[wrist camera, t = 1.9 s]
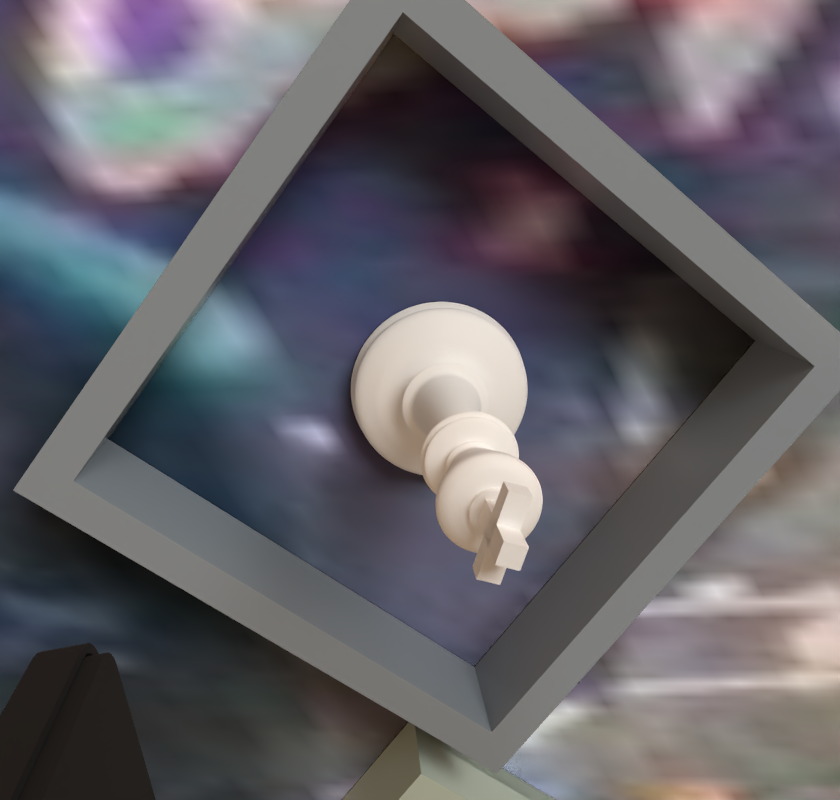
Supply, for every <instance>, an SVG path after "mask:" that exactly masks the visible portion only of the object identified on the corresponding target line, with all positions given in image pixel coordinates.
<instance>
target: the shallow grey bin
mask: <svg viewBox="0 0 840 800" xmlns="http://www.w3.org/2000/svg"><path fill="white" fill-rule="evenodd" d="M393 34H394V35H395V36H397V37H398V38H399V39H400V40H401V41H403V42H404V43H405V44H406V45H407V46H408V47H410V48H411V49H412V50H413V51H414V52H415V53H417V54H418V55H419V56H420V57H421V58H423V59H424V60H425V61H426V62H427V63H428V64H430V65H431V66H432V67H433V68H434V69H436V70H437V71H438V72H439V73H440V74H441V75H443V76H444V77H445V78H446V79H447V80H448V81H450V82H451V83H452V84H453V85H454V86H456V87H457V88H458V89H459V90H460V91H461V92H463V93H464V94H465V95H466V96H467V97H469V98H470V99H471V100H472V101H473V102H474V103H476V104H477V105H478V106H479V107H480V108H481V109H483V110H484V111H485V112H486V113H487V114H489V115H490V116H491V117H492V118H493V119H494V120H496V121H497V122H498V123H499V124H500V125H502V126H503V127H504V128H505V129H506V130H507V131H509V132H510V133H511V134H512V135H513V136H514V137H516V138H517V139H518V140H519V141H520V142H522V143H523V144H524V145H525V146H526V147H527V148H529V149H530V150H531V151H532V152H533V153H534V154H536V155H537V156H538V157H539V158H540V159H542V160H543V161H544V162H545V163H546V164H547V165H549V166H550V167H551V168H552V169H553V170H555V171H556V172H557V173H558V174H559V175H560V176H562V177H563V178H564V179H565V180H566V181H567V182H569V183H570V184H571V185H572V186H573V187H575V188H576V189H577V190H578V191H579V192H580V193H582V194H583V195H584V196H585V197H586V198H588V199H589V200H590V201H591V202H592V203H593V204H595V205H596V206H597V207H598V208H599V209H600V210H602V211H603V212H604V213H605V214H606V215H608V216H609V217H610V218H611V219H612V220H613V221H615V222H616V223H617V224H618V225H619V226H621V227H622V228H623V229H624V230H625V231H626V232H628V233H629V234H630V235H631V236H632V237H633V238H635V239H636V240H637V241H638V242H639V243H641V244H642V245H643V246H644V247H645V248H646V249H648V250H649V251H650V252H651V253H652V254H654V255H655V256H656V257H657V258H658V259H659V260H661V261H662V262H663V263H664V264H665V265H666V266H668V267H669V268H670V269H671V270H672V271H674V272H675V273H676V274H677V275H678V276H679V277H681V278H682V279H683V280H684V281H685V282H687V283H688V284H689V285H690V286H691V287H692V288H694V289H695V290H696V291H697V292H698V293H699V294H701V295H702V296H703V297H704V298H705V299H707V300H708V301H709V302H710V303H711V304H712V305H714V306H715V307H716V308H717V309H718V310H719V311H721V312H722V313H723V314H724V315H725V316H727V317H728V318H729V319H730V320H731V321H732V322H734V323H735V324H736V325H737V326H738V327H740V328H741V329H742V330H743V331H744V332H745V333H747V334H748V335H749V336H750V337H751V338H752V339H754V340H755V342H754V343H753V344H752V345H751V346H750V348H749V349H748V350H747V351H746V352H745V353H744V355H743V356H742V357H741V358H740V359H739V360H738V362H737V363H736V364H735V365H734V366H733V367H732V369H731V370H730V371H729V372H728V373H727V374H726V375H725V377H724V378H723V379H722V380H721V381H720V382H719V384H718V385H717V386H716V387H715V388H714V389H713V391H712V392H711V393H710V394H709V395H708V396H707V398H706V399H705V400H704V401H703V402H702V403H701V405H700V406H699V407H698V408H697V409H696V410H695V412H694V413H693V414H692V415H691V416H690V417H689V418H688V420H687V421H686V422H685V423H684V424H683V425H682V427H681V428H680V429H679V430H678V431H677V432H676V434H675V435H674V436H673V437H672V438H671V439H670V441H669V442H668V443H667V444H666V445H665V446H664V448H663V449H662V450H661V451H660V452H659V453H658V454H657V456H656V457H655V458H654V459H653V460H652V461H651V463H650V464H649V465H648V466H647V467H646V468H645V470H644V471H643V472H642V473H641V474H640V475H639V477H638V478H637V479H636V480H635V481H634V482H633V484H632V485H631V486H630V487H629V488H628V489H627V491H626V492H625V493H624V494H623V495H622V496H621V497H620V499H619V500H618V501H617V502H616V503H615V504H614V506H613V507H612V508H611V509H610V510H609V511H608V513H607V514H606V515H605V516H604V517H603V518H602V520H601V521H600V522H599V523H598V524H597V525H596V527H595V528H594V529H593V530H592V531H591V532H590V534H589V535H588V536H587V537H586V538H585V539H584V540H583V542H582V543H581V544H580V545H579V546H578V547H577V549H576V550H575V551H574V552H573V553H572V554H571V556H570V557H569V558H568V559H567V560H566V561H565V563H564V564H563V565H562V566H561V567H560V568H559V570H558V571H557V572H556V573H555V574H554V575H553V577H552V578H551V579H550V580H549V581H548V582H547V583H546V585H545V586H544V587H543V588H542V589H541V590H540V592H539V593H538V594H537V595H536V596H535V597H534V599H533V600H532V601H531V602H530V603H529V604H528V606H527V607H526V608H525V609H524V610H523V611H522V613H521V614H520V615H519V616H518V617H517V618H516V619H515V621H514V622H513V623H512V624H511V625H510V626H509V628H508V629H507V630H506V631H505V632H504V633H503V635H502V636H501V637H500V638H499V639H498V640H497V642H496V643H495V644H494V645H493V646H492V647H491V649H490V650H489V651H488V652H487V653H486V654H485V656H484V657H483V658H482V659H481V660H480V661H479V662H478V664H477V665H476V666H475V667H473V666H472V665H470V664H468V663H467V662H465V661H464V660H462V659H460V658H459V657H457V656H456V655H454V654H452V653H451V652H449V651H448V650H446V649H444V648H443V647H441V646H440V645H438V644H436V643H435V642H433V641H432V640H430V639H428V638H427V637H425V636H424V635H422V634H420V633H419V632H417V631H415V630H414V629H412V628H411V627H409V626H407V625H406V624H404V623H403V622H401V621H399V620H398V619H396V618H395V617H393V616H391V615H390V614H388V613H387V612H385V611H383V610H382V609H380V608H379V607H377V606H375V605H374V604H372V603H370V602H369V601H367V600H366V599H364V598H362V597H361V596H359V595H358V594H356V593H354V592H353V591H351V590H350V589H348V588H346V587H345V586H343V585H342V584H340V583H338V582H337V581H335V580H334V579H332V578H330V577H329V576H327V575H325V574H324V573H322V572H321V571H319V570H317V569H316V568H314V567H313V566H311V565H309V564H308V563H306V562H305V561H303V560H301V559H300V558H298V557H297V556H295V555H293V554H292V553H290V552H289V551H287V550H285V549H284V548H282V547H280V546H279V545H277V544H276V543H274V542H272V541H271V540H269V539H268V538H266V537H264V536H263V535H261V534H260V533H258V532H256V531H255V530H253V529H252V528H250V527H248V526H247V525H245V524H244V523H242V522H240V521H239V520H237V519H236V518H234V517H232V516H231V515H229V514H227V513H226V512H224V511H223V510H221V509H219V508H218V507H216V506H215V505H213V504H211V503H210V502H208V501H207V500H205V499H203V498H202V497H200V496H199V495H197V494H195V493H194V492H192V491H191V490H189V489H187V488H186V487H184V486H182V485H181V484H179V483H178V482H176V481H174V480H173V479H171V478H170V477H168V476H166V475H165V474H163V473H162V472H160V471H158V470H157V469H155V468H154V467H152V466H150V465H149V464H147V463H146V462H144V461H142V460H141V459H139V458H137V457H136V456H134V455H133V454H131V453H129V452H128V451H126V450H125V449H123V448H121V447H120V446H118V445H117V444H115V443H113V442H112V441H110V440H109V437H110V436H111V435H112V433H113V432H114V430H115V429H116V427H117V426H118V425H119V423H120V422H121V420H122V419H123V418H124V416H125V415H126V413H127V412H128V410H129V409H130V408H131V406H132V405H133V403H134V402H135V400H136V399H137V398H138V396H139V395H140V393H141V392H142V391H143V389H144V388H145V386H146V385H147V383H148V382H149V381H150V379H151V378H152V376H153V375H154V374H155V372H156V371H157V369H158V368H159V366H160V365H161V364H162V362H163V361H164V359H165V358H166V356H167V355H168V354H169V352H170V351H171V349H172V348H173V347H174V345H175V344H176V342H177V341H178V339H179V338H180V337H181V335H182V334H183V332H184V331H185V330H186V328H187V327H188V325H189V324H190V322H191V321H192V320H193V318H194V317H195V315H196V314H197V312H198V311H199V310H200V308H201V307H202V305H203V304H204V303H205V301H206V300H207V298H208V297H209V295H210V294H211V293H212V291H213V290H214V288H215V287H216V286H217V284H218V283H219V281H220V280H221V278H222V277H223V276H224V274H225V273H226V271H227V270H228V268H229V267H230V266H231V264H232V263H233V261H234V260H235V259H236V257H237V256H238V254H239V253H240V251H241V250H242V249H243V247H244V246H245V244H246V243H247V242H248V240H249V239H250V237H251V236H252V234H253V233H254V232H255V230H256V229H257V227H258V226H259V224H260V223H261V222H262V220H263V219H264V217H265V216H266V215H267V213H268V212H269V210H270V209H271V207H272V206H273V205H274V203H275V202H276V200H277V199H278V198H279V196H280V195H281V193H282V192H283V190H284V189H285V188H286V186H287V185H288V183H289V182H290V180H291V179H292V178H293V176H294V175H295V173H296V172H297V171H298V169H299V168H300V166H301V165H302V163H303V162H304V161H305V159H306V158H307V156H308V155H309V154H310V152H311V151H312V149H313V148H314V146H315V145H316V144H317V142H318V141H319V139H320V138H321V136H322V135H323V134H324V132H325V131H326V129H327V128H328V127H329V125H330V124H331V122H332V121H333V119H334V118H335V117H336V115H337V114H338V112H339V111H340V109H341V108H342V107H343V105H344V104H345V102H346V101H347V100H348V98H349V97H350V95H351V94H352V92H353V91H354V90H355V88H356V87H357V85H358V84H359V83H360V81H361V80H362V78H363V77H364V75H365V74H366V73H367V71H368V70H369V68H370V67H371V65H372V64H373V63H374V61H375V60H376V58H377V57H378V56H379V54H380V53H381V51H382V50H383V48H384V47H385V46H386V44H387V43H388V41H389V40H390V39H391V37H392V36H393ZM839 391H840V332H839V331H838V330H836V329H835V328H834V327H833V326H832V325H831V324H830V323H829V322H827V321H826V320H825V319H824V318H823V317H822V316H821V315H820V314H818V313H817V312H816V311H815V310H814V309H813V308H812V307H810V306H809V305H808V304H807V303H806V302H805V301H804V300H803V299H801V298H800V297H799V296H798V295H797V294H796V293H795V292H794V291H792V290H791V289H790V288H789V287H788V286H787V285H786V284H785V283H783V282H782V281H781V280H780V279H779V278H778V277H777V276H776V275H774V274H773V273H772V272H771V271H770V270H769V269H768V268H766V267H765V266H764V265H763V264H762V263H761V262H760V261H759V260H757V259H756V258H755V257H754V256H753V255H752V254H751V253H750V252H748V251H747V250H746V249H745V248H744V247H743V246H742V245H741V244H739V243H738V242H737V241H736V240H735V239H734V238H733V237H732V236H730V235H729V234H728V233H727V232H726V231H725V230H724V229H722V228H721V227H720V226H719V225H718V224H717V223H716V222H715V221H713V220H712V219H711V218H710V217H709V216H708V215H707V214H706V213H704V212H703V211H702V210H701V209H700V208H699V207H698V206H697V205H695V204H694V203H693V202H692V201H691V200H690V199H689V198H688V197H686V196H685V195H684V194H683V193H682V192H681V191H680V190H678V189H677V188H676V187H675V186H674V185H673V184H672V183H671V182H669V181H668V180H667V179H666V178H665V177H664V176H663V175H662V174H660V173H659V172H658V171H657V170H656V169H655V168H654V167H653V166H651V165H650V164H649V163H648V162H647V161H646V160H645V159H643V158H642V157H641V156H640V155H639V154H638V153H637V152H636V151H634V150H633V149H632V148H631V147H630V146H629V145H628V144H627V143H625V142H624V141H623V140H622V139H621V138H620V137H619V136H618V135H616V134H615V133H614V132H613V131H612V130H611V129H610V128H609V127H607V126H606V125H605V124H604V123H603V122H602V121H601V120H599V119H598V118H597V117H596V116H595V115H594V114H593V113H592V112H590V111H589V110H588V109H587V108H586V107H585V106H584V105H583V104H581V103H580V102H579V101H578V100H577V99H576V98H575V97H574V96H572V95H571V94H570V93H569V92H568V91H567V90H566V89H565V88H563V87H562V86H561V85H560V84H559V83H558V82H557V81H555V80H554V79H553V78H552V77H551V76H550V75H549V74H548V73H546V72H545V71H544V70H543V69H542V68H541V67H540V66H539V65H537V64H536V63H535V62H534V61H533V60H532V59H531V58H530V57H528V56H527V55H526V54H525V53H524V52H523V51H522V50H521V49H519V48H518V47H517V46H516V45H515V44H514V43H513V42H511V41H510V40H509V39H508V38H507V37H506V36H505V35H504V34H502V33H501V32H500V31H499V30H498V29H497V28H496V27H495V26H493V25H492V24H491V23H490V22H489V21H488V20H487V19H486V18H484V17H483V16H482V15H481V14H480V13H479V12H478V11H477V10H475V9H474V8H473V7H472V6H471V5H470V4H469V3H467V2H466V1H465V0H350V1H349V3H348V4H347V5H346V7H345V8H344V10H343V11H342V13H341V14H340V16H339V17H338V19H337V20H336V21H335V23H334V24H333V26H332V27H331V29H330V30H329V32H328V33H327V35H326V36H325V37H324V39H323V40H322V42H321V43H320V45H319V46H318V48H317V49H316V51H315V52H314V53H313V55H312V56H311V58H310V59H309V61H308V62H307V64H306V65H305V67H304V68H303V69H302V71H301V72H300V74H299V75H298V77H297V78H296V80H295V81H294V83H293V84H292V85H291V87H290V88H289V90H288V91H287V93H286V94H285V96H284V97H283V99H282V100H281V101H280V103H279V104H278V106H277V107H276V109H275V110H274V112H273V113H272V115H271V116H270V117H269V119H268V120H267V122H266V123H265V125H264V126H263V128H262V129H261V131H260V132H259V133H258V135H257V136H256V138H255V139H254V141H253V142H252V144H251V145H250V147H249V148H248V149H247V151H246V152H245V154H244V155H243V157H242V158H241V160H240V161H239V162H238V164H237V165H236V167H235V168H234V170H233V171H232V173H231V174H230V176H229V177H228V178H227V180H226V181H225V183H224V184H223V186H222V187H221V189H220V190H219V192H218V193H217V194H216V196H215V197H214V199H213V200H212V202H211V203H210V205H209V206H208V208H207V209H206V210H205V212H204V213H203V215H202V216H201V218H200V219H199V221H198V222H197V224H196V225H195V226H194V228H193V229H192V231H191V232H190V234H189V235H188V237H187V238H186V240H185V241H184V242H183V244H182V245H181V247H180V248H179V250H178V251H177V253H176V254H175V256H174V257H173V258H172V260H171V261H170V263H169V264H168V266H167V267H166V269H165V270H164V272H163V273H162V274H161V276H160V277H159V279H158V280H157V282H156V283H155V285H154V286H153V288H152V289H151V290H150V292H149V293H148V295H147V296H146V298H145V299H144V301H143V302H142V304H141V305H140V306H139V308H138V309H137V311H136V312H135V314H134V315H133V317H132V318H131V320H130V321H129V322H128V324H127V325H126V327H125V328H124V330H123V331H122V333H121V334H120V336H119V337H118V338H117V340H116V341H115V343H114V344H113V346H112V347H111V349H110V350H109V352H108V353H107V354H106V356H105V357H104V359H103V360H102V362H101V363H100V365H99V366H98V368H97V369H96V370H95V372H94V373H93V375H92V376H91V378H90V379H89V381H88V382H87V383H86V385H85V386H84V388H83V389H82V391H81V392H80V394H79V395H78V397H77V398H76V399H75V401H74V402H73V404H72V405H71V407H70V408H69V410H68V411H67V413H66V414H65V415H64V417H63V418H62V420H61V421H60V423H59V424H58V426H57V427H56V429H55V430H54V431H53V433H52V434H51V436H50V437H49V439H48V440H47V442H46V443H45V445H44V446H43V447H42V449H41V450H40V452H39V453H38V455H37V456H36V458H35V459H34V461H33V462H32V463H31V465H30V466H29V468H28V469H27V471H26V472H25V474H24V475H23V477H22V478H21V479H20V481H19V482H18V484H17V485H16V487H15V488H14V490H13V491H15V492H17V493H19V494H20V495H22V496H24V497H25V498H27V499H29V500H30V501H32V502H34V503H36V504H37V505H39V506H41V507H42V508H44V509H46V510H48V511H49V512H51V513H53V514H54V515H56V516H58V517H60V518H61V519H63V520H65V521H66V522H68V523H70V524H72V525H73V526H75V527H77V528H78V529H80V530H82V531H83V532H85V533H87V534H89V535H90V536H92V537H94V538H95V539H97V540H99V541H101V542H102V543H104V544H106V545H107V546H109V547H111V548H113V549H114V550H116V551H118V552H119V553H121V554H123V555H125V556H126V557H128V558H130V559H131V560H133V561H135V562H136V563H138V564H140V565H142V566H143V567H145V568H147V569H148V570H150V571H152V572H154V573H155V574H157V575H159V576H160V577H162V578H164V579H166V580H167V581H169V582H171V583H172V584H174V585H176V586H177V587H179V588H181V589H183V590H184V591H186V592H188V593H189V594H191V595H193V596H195V597H196V598H198V599H200V600H201V601H203V602H205V603H207V604H208V605H210V606H212V607H213V608H215V609H217V610H219V611H220V612H222V613H224V614H225V615H227V616H229V617H230V618H232V619H234V620H236V621H237V622H239V623H241V624H242V625H244V626H246V627H248V628H249V629H251V630H253V631H254V632H256V633H258V634H260V635H261V636H263V637H265V638H266V639H268V640H270V641H271V642H273V643H275V644H277V645H278V646H280V647H282V648H283V649H285V650H287V651H289V652H290V653H292V654H294V655H295V656H297V657H299V658H301V659H302V660H304V661H306V662H307V663H309V664H311V665H313V666H314V667H316V668H318V669H319V670H321V671H323V672H324V673H326V674H328V675H330V676H331V677H333V678H335V679H336V680H338V681H340V682H342V683H343V684H345V685H347V686H348V687H350V688H352V689H354V690H355V691H357V692H359V693H360V694H362V695H364V696H366V697H367V698H369V699H371V700H372V701H374V702H376V703H377V704H379V705H381V706H383V707H384V708H386V709H388V710H389V711H391V712H393V713H395V714H396V715H398V716H400V717H401V718H403V719H405V720H407V721H408V722H410V723H412V724H413V725H415V726H417V727H418V728H420V729H422V730H424V731H425V732H427V733H429V734H430V735H432V736H434V737H436V738H437V739H439V740H441V741H442V742H444V743H446V744H448V745H449V746H451V747H453V748H454V749H456V750H458V751H460V752H461V753H463V754H465V755H466V756H468V757H470V758H471V759H473V760H475V761H477V762H478V763H480V764H482V765H483V766H485V767H487V768H489V769H490V770H492V771H494V772H495V773H498V772H499V770H500V769H501V768H502V767H503V766H504V765H505V764H506V763H507V761H508V760H509V759H510V758H511V757H512V756H513V755H514V754H515V753H516V751H517V750H518V749H519V748H520V747H521V746H522V745H523V744H524V742H525V741H526V740H527V739H528V738H529V737H530V736H531V735H532V734H533V732H534V731H535V730H536V729H537V728H538V727H539V726H540V725H541V723H542V722H543V721H544V720H545V719H546V718H547V717H548V716H549V715H550V713H551V712H552V711H553V710H554V709H555V708H556V707H557V706H558V705H559V703H560V702H561V701H562V700H563V699H564V698H565V697H566V696H567V694H568V693H569V692H570V691H571V690H572V689H573V688H574V687H575V686H576V684H577V683H578V682H579V681H580V680H581V679H582V678H583V677H584V675H585V674H586V673H587V672H588V671H589V670H590V669H591V668H592V667H593V665H594V664H595V663H596V662H597V661H598V660H599V659H600V658H601V656H602V655H603V654H604V653H605V652H606V651H607V650H608V649H609V648H610V646H611V645H612V644H613V643H614V642H615V641H616V640H617V639H618V638H619V636H620V635H621V634H622V633H623V632H624V631H625V630H626V629H627V627H628V626H629V625H630V624H631V623H632V622H633V621H634V620H635V619H636V617H637V616H638V615H639V614H640V613H641V612H642V611H643V610H644V608H645V607H646V606H647V605H648V604H649V603H650V602H651V601H652V600H653V598H654V597H655V596H656V595H657V594H658V593H659V592H660V591H661V589H662V588H663V587H664V586H665V585H666V584H667V583H668V582H669V581H670V579H671V578H672V577H673V576H674V575H675V574H676V573H677V572H678V571H679V569H680V568H681V567H682V566H683V565H684V564H685V563H686V562H687V560H688V559H689V558H690V557H691V556H692V555H693V554H694V553H695V552H696V550H697V549H698V548H699V547H700V546H701V545H702V544H703V543H704V541H705V540H706V539H707V538H708V537H709V536H710V535H711V534H712V533H713V531H714V530H715V529H716V528H717V527H718V526H719V525H720V524H721V522H722V521H723V520H724V519H725V518H726V517H727V516H728V515H729V514H730V512H731V511H732V510H733V509H734V508H735V507H736V506H737V505H738V503H739V502H740V501H741V500H742V499H743V498H744V497H745V496H746V495H747V493H748V492H749V491H750V490H751V489H752V488H753V487H754V486H755V485H756V483H757V482H758V481H759V480H760V479H761V478H762V477H763V476H764V474H765V473H766V472H767V471H768V470H769V469H770V468H771V467H772V466H773V464H774V463H775V462H776V461H777V460H778V459H779V458H780V457H781V455H782V454H783V453H784V452H785V451H786V450H787V449H788V448H789V447H790V445H791V444H792V443H793V442H794V441H795V440H796V439H797V438H798V436H799V435H800V434H801V433H802V432H803V431H804V430H805V429H806V428H807V426H808V425H809V424H810V423H811V422H812V421H813V420H814V419H815V418H816V416H817V415H818V414H819V413H820V412H821V411H822V410H823V409H824V407H825V406H826V405H827V404H828V403H829V402H830V401H831V400H832V399H833V397H834V396H835V395H836V394H837V393H838V392H839Z"/></svg>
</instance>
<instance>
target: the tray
mask: <svg viewBox="0 0 840 800" xmlns="http://www.w3.org/2000/svg"><path fill="white" fill-rule="evenodd" d="M342 800H555V799H554V798H552V797H550V796H548V795H547V794H545V793H543V792H542V791H540V790H538V789H537V788H535V787H533V786H531V785H530V784H528V783H526V782H525V781H523V780H521V779H520V778H518V777H516V776H514V775H513V774H511V773H509V772H508V771H506V770H504V769H503V768H501V769H500V770H499V772H498V773H495V772H494V771H492V770H490V769H489V768H487V767H485V766H483V765H482V764H480V763H478V762H477V761H475V760H473V759H471V758H470V757H468V756H466V755H465V754H463V753H461V752H460V751H458V750H456V749H454V748H453V747H451V746H449V745H448V744H446V743H444V742H442V741H441V740H439V739H437V738H436V737H434V736H432V735H430V734H429V733H427V732H425V731H424V730H422V729H420V728H418V727H417V726H415V725H413V724H412V723H410V722H408V723H407V725H406V726H405V727H404V728H403V729H402V730H401V732H400V733H399V734H398V735H397V736H396V737H395V739H394V740H393V741H392V742H391V743H390V744H389V746H388V747H387V748H386V749H385V750H384V751H383V753H382V754H381V755H380V756H379V757H378V758H377V760H376V761H375V762H374V763H373V764H372V765H371V767H370V768H369V769H368V770H367V771H366V772H365V774H364V775H363V776H362V777H361V778H360V780H359V781H358V782H357V783H356V784H355V785H354V787H353V788H352V789H351V790H350V791H349V792H348V794H347V795H346V796H345V797H344V798H343V799H342Z"/></svg>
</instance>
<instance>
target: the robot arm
mask: <svg viewBox="0 0 840 800" xmlns="http://www.w3.org/2000/svg"><path fill="white" fill-rule="evenodd" d="M0 800H155V796H154V793H153V789H152V786H151V782H150V779H149V775H148V772H147V768H146V765H145V761H144V758H143V755H142V751H141V748H140V744H139V741H138V737H137V734H136V730H135V727H134V723H133V720H132V716H131V713H130V710H129V706H128V703H127V699H126V696H125V692H124V689H123V685H122V682H121V678H120V675H119V671H118V668H117V665H116V662H115V659H114V657H113V656H112V654H110V653H103V654H98V652H97V650H96V648H95V647H94V646H93V645H92V644H90V643H87V644H81V645H76V646H70V647H65V648H59V649H53V650H48V651H42V652H39V653H37V654H36V655H35V656H34V658H33V659H32V661H31V663H30V664H29V666H28V668H27V670H26V671H25V673H24V675H23V677H22V678H21V680H20V682H19V684H18V686H17V687H16V689H15V691H14V693H13V694H12V696H11V698H10V700H9V701H8V703H7V705H6V707H5V709H4V710H3V712H2V714H1V716H0Z"/></svg>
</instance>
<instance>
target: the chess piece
mask: <svg viewBox="0 0 840 800" xmlns="http://www.w3.org/2000/svg"><path fill="white" fill-rule="evenodd" d="M351 401H352V407H353V411H354V414H355V417H356V420H357V422H358V424H359V426H360V428H361V430H362V432H363V433H364V435H365V437H366V438H367V440H368V441H369V443H370V444H371V445H372V447H373V448H374V449H375V450H376V451H377V452H378V453H379V454H380V455H381V456H382V457H384V458H385V459H386V460H388V461H389V462H390V463H392V464H394V465H395V466H397V467H399V468H401V469H404V470H406V471H409V472H412V473H415V474H419V475H423V478H424V480H425V482H426V483H427V485H428V486H429V488H430V489H431V490H432V491H433V492H434V493H435V494H437V495H436V515H437V519H438V522H439V524H440V527H441V528H442V530H443V532H444V533H445V535H446V536H447V537H448V538H449V539H450V540H451V541H452V542H454V543H455V544H456V545H458V546H459V547H461V548H463V549H465V550H468V551H471V552H475V553H477V556H476V558H475V561H474V564H473V570H474V573H475V576H476V579H478V580H482V581H486V582H490V583H494V584H499V585H500V584H501V581H502V578H503V576H504V573H505V570H506V568H510V569H514V570H518V571H520V570H521V567H522V564H523V562H524V559H525V557H526V554H527V551H528V549H529V547H528V545H527V543H526V541H525V538H526V537H527V536H528V535H529V534H530V533H531V532H532V530H533V529H534V527H535V526H536V524H537V522H538V520H539V517H540V514H541V511H542V503H543V497H542V490H541V486H540V484H539V481H538V479H537V477H536V476H535V474H534V473H533V471H532V470H531V469H530V468H529V467H528V466H527V465H526V464H525V463H524V462H522V461H521V460H519V451H518V445H517V442H516V439H515V437H514V434H515V432H516V431H517V429H518V427H519V425H520V423H521V420H522V418H523V415H524V411H525V407H526V402H527V377H526V372H525V368H524V364H523V361H522V358H521V355H520V352H519V350H518V348H517V346H516V344H515V343H514V341H513V339H512V338H511V336H510V335H509V334H508V333H507V331H506V330H505V329H504V328H503V327H502V326H501V325H500V324H499V323H498V322H496V321H495V320H494V319H493V318H491V317H490V316H488V315H487V314H485V313H483V312H481V311H479V310H477V309H475V308H472V307H470V306H467V305H463V304H458V303H452V302H430V303H424V304H419V305H416V306H412V307H410V308H407V309H405V310H402V311H400V312H398V313H396V314H395V315H393V316H391V317H390V318H389V319H387V320H386V321H384V322H383V323H382V324H381V325H380V326H379V327H378V328H377V329H376V330H375V331H374V332H373V333H372V334H371V335H370V336H369V338H368V339H367V340H366V342H365V343H364V345H363V347H362V348H361V350H360V352H359V354H358V357H357V359H356V362H355V365H354V368H353V373H352V378H351Z"/></svg>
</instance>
